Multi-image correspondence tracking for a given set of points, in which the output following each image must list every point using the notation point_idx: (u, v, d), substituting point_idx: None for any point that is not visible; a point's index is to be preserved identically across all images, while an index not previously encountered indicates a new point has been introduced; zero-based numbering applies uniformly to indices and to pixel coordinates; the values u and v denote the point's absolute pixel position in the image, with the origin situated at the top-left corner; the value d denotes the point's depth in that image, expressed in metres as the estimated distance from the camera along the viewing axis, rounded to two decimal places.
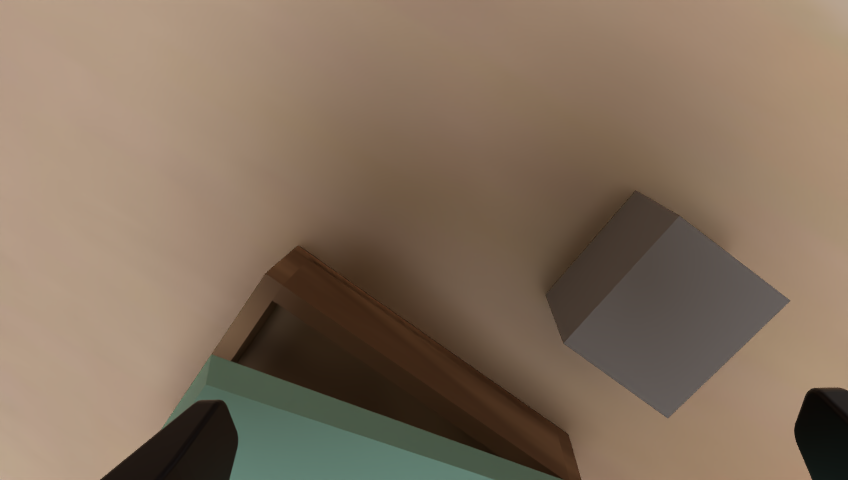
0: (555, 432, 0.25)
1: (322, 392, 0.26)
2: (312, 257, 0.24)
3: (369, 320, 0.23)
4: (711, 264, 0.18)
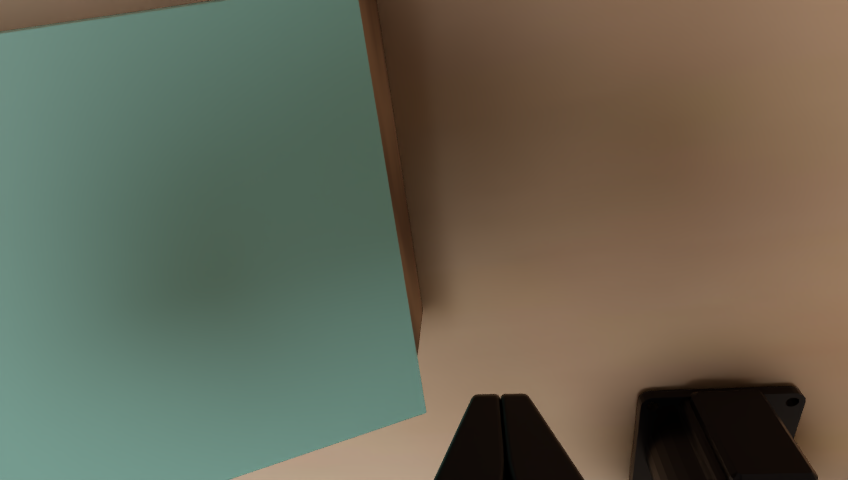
0: None
1: None
2: None
3: None
4: None
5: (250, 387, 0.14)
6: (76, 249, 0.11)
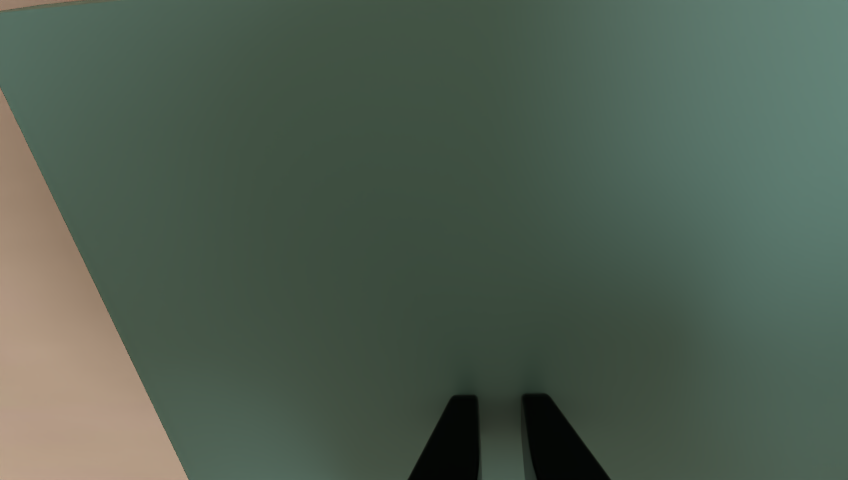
0: None
1: None
2: None
3: None
4: None
5: None
6: (771, 309, 0.07)
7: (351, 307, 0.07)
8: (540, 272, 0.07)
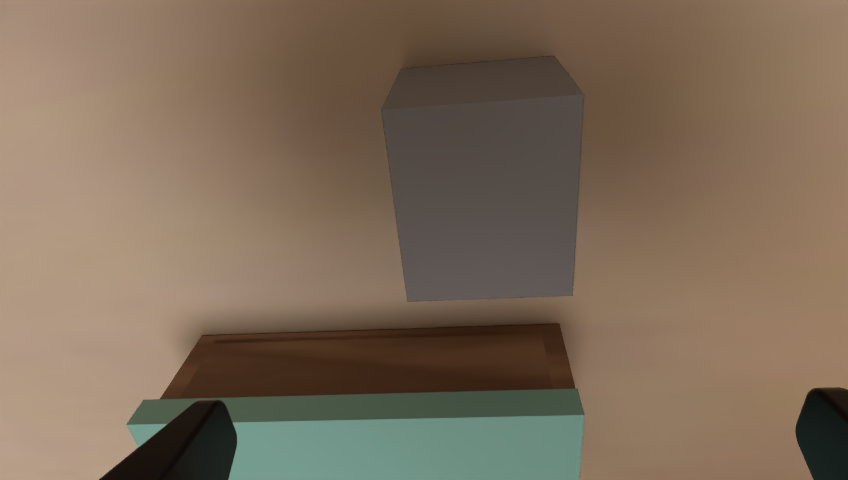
0: (538, 334, 0.22)
1: None
2: (218, 337, 0.24)
3: (283, 367, 0.22)
4: (462, 127, 0.13)
5: None
6: None
7: None
8: None
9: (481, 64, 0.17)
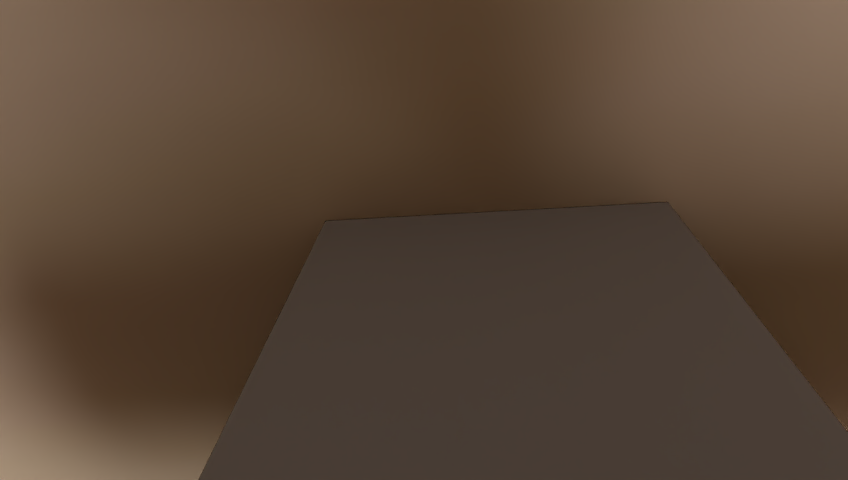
0: None
1: None
2: None
3: None
4: None
5: None
6: None
7: None
8: None
9: (503, 226, 0.07)
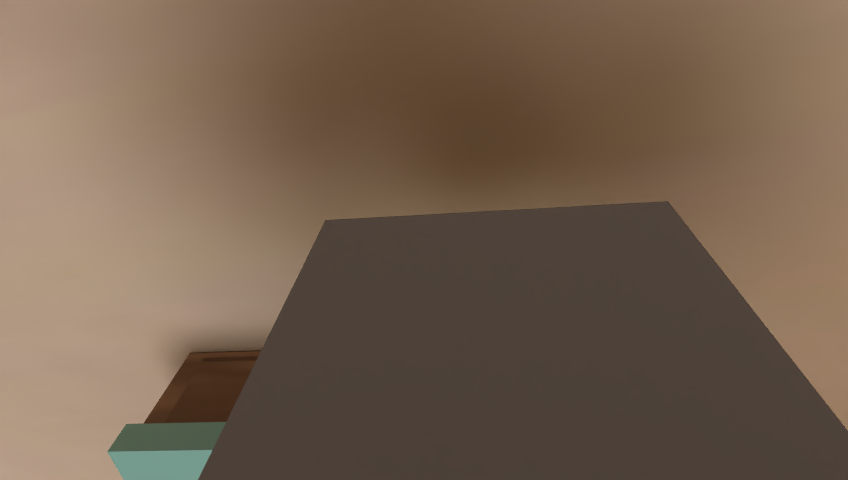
0: None
1: None
2: (207, 355, 0.23)
3: None
4: None
5: None
6: None
7: None
8: None
9: (503, 225, 0.07)
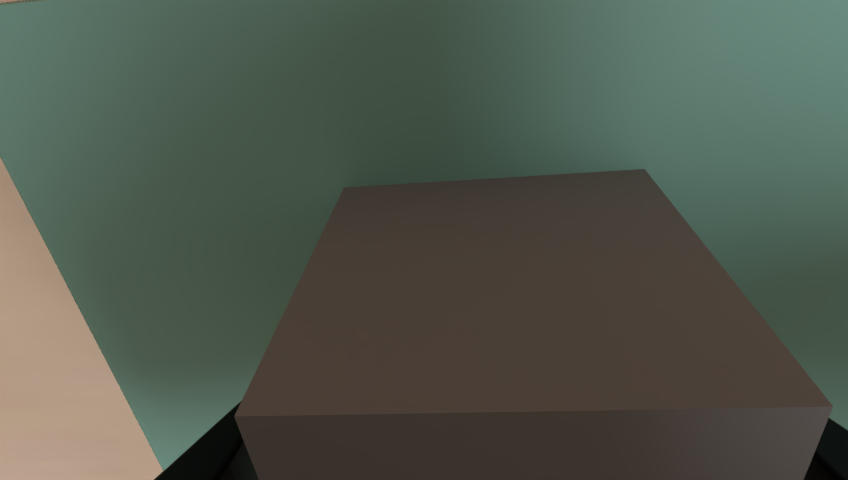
0: None
1: None
2: None
3: None
4: (465, 459, 0.05)
5: None
6: None
7: (230, 235, 0.10)
8: None
9: (500, 189, 0.08)
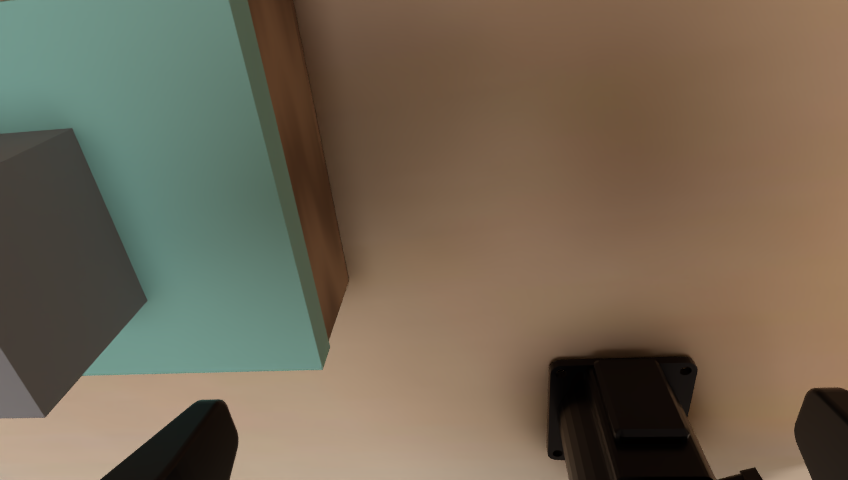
0: None
1: None
2: None
3: None
4: None
5: (168, 304, 0.18)
6: None
7: None
8: None
9: None
